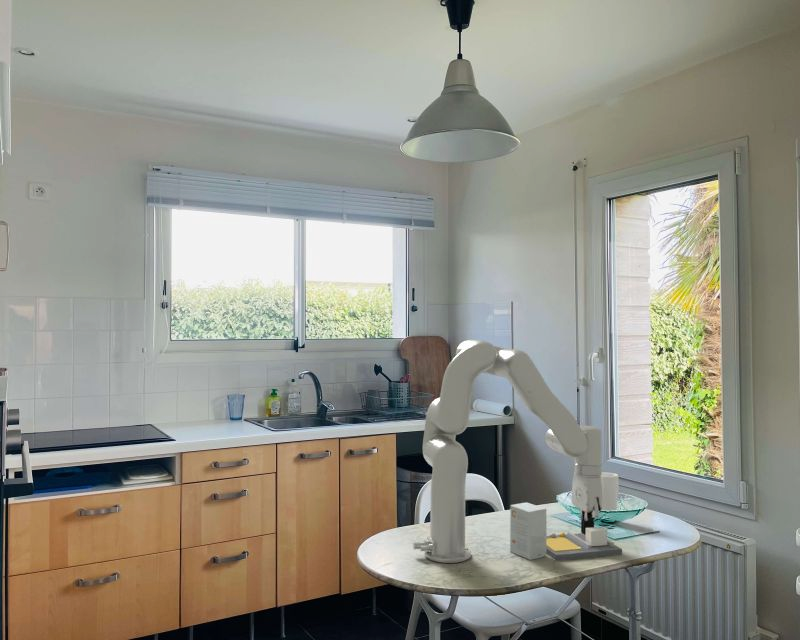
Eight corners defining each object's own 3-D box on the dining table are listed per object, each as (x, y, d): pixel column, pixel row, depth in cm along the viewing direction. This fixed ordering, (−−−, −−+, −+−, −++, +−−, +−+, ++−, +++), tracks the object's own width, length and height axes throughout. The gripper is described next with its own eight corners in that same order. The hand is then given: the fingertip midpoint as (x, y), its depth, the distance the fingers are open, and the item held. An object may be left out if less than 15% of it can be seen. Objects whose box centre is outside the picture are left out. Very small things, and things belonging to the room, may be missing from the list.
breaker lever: (591, 546, 184) (591, 531, 184) (585, 542, 187) (585, 527, 187) (607, 545, 185) (607, 529, 185) (601, 541, 188) (601, 526, 188)
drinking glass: (610, 517, 217) (610, 471, 217) (622, 523, 211) (623, 476, 211) (592, 518, 215) (592, 472, 215) (604, 525, 209) (604, 477, 209)
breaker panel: (555, 560, 177) (555, 551, 177) (531, 542, 192) (531, 533, 192) (622, 554, 182) (622, 545, 182) (593, 537, 197) (593, 528, 197)
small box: (547, 556, 181) (547, 508, 181) (529, 560, 177) (529, 512, 177) (526, 547, 187) (526, 501, 188) (509, 551, 184) (509, 504, 184)
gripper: (563, 464, 197) (563, 526, 197) (589, 476, 182) (588, 542, 182) (586, 463, 199) (586, 524, 199) (613, 474, 184) (613, 540, 184)
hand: (587, 533), depth 190 cm, fingers closed
